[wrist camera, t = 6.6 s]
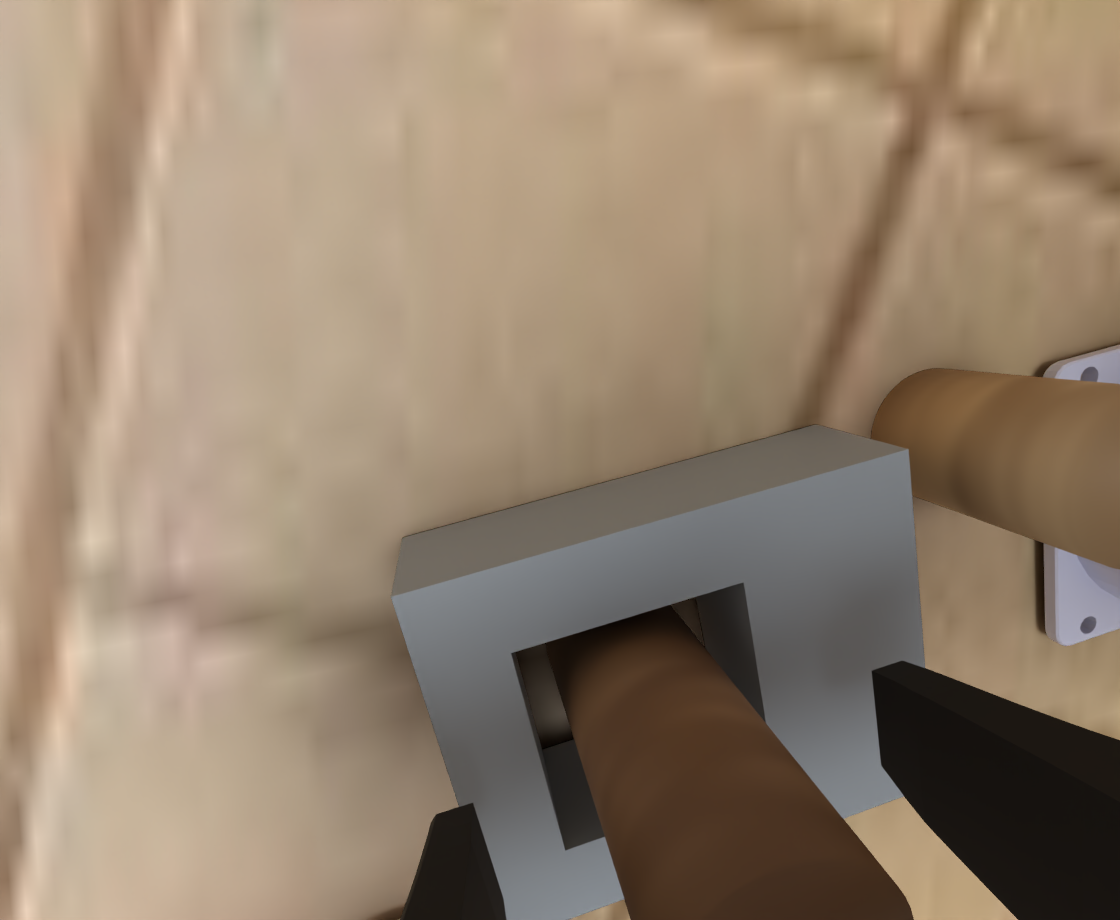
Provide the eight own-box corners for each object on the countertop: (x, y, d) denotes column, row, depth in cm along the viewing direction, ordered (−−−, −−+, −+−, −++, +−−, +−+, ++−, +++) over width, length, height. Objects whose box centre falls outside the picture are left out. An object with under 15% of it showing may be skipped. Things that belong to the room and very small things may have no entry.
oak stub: (980, 354, 15) (1234, 368, 10) (985, 476, 16) (1223, 541, 11) (864, 385, 15) (1072, 415, 10) (876, 508, 15) (1073, 591, 11)
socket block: (816, 424, 14) (908, 449, 12) (848, 704, 16) (934, 785, 14) (402, 537, 13) (391, 596, 10) (492, 826, 15) (503, 943, 12)
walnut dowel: (665, 561, 15) (913, 826, 7) (680, 676, 15) (917, 1029, 8) (536, 591, 14) (645, 911, 6) (557, 709, 15) (679, 1119, 7)
